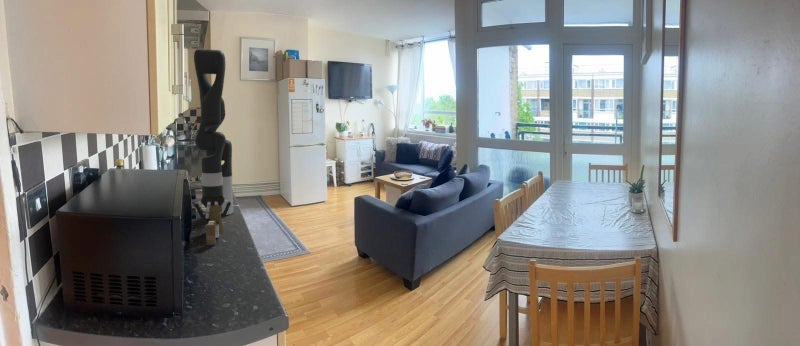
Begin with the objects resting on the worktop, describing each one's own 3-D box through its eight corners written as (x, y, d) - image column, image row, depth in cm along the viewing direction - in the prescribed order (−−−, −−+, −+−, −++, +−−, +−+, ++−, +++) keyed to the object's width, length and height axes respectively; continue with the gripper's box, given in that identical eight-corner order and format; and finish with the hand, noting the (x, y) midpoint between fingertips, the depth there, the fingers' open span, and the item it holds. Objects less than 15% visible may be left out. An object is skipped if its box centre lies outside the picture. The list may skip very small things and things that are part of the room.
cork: (226, 229, 182) (225, 202, 181) (219, 234, 177) (218, 206, 175) (212, 228, 183) (211, 201, 181) (204, 233, 177) (203, 205, 175)
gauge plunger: (207, 234, 174) (206, 218, 173) (219, 234, 175) (219, 217, 174) (206, 238, 170) (205, 221, 169) (219, 237, 171) (218, 220, 170)
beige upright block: (207, 240, 168) (207, 221, 167) (216, 240, 169) (215, 220, 168) (206, 245, 163) (205, 225, 162) (215, 244, 164) (214, 224, 163)
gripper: (232, 181, 182) (233, 223, 185) (193, 182, 178) (195, 225, 181) (231, 185, 175) (232, 228, 178) (191, 186, 171) (193, 230, 174)
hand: (213, 226), depth 179 cm, fingers closed on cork, 3 cm apart
